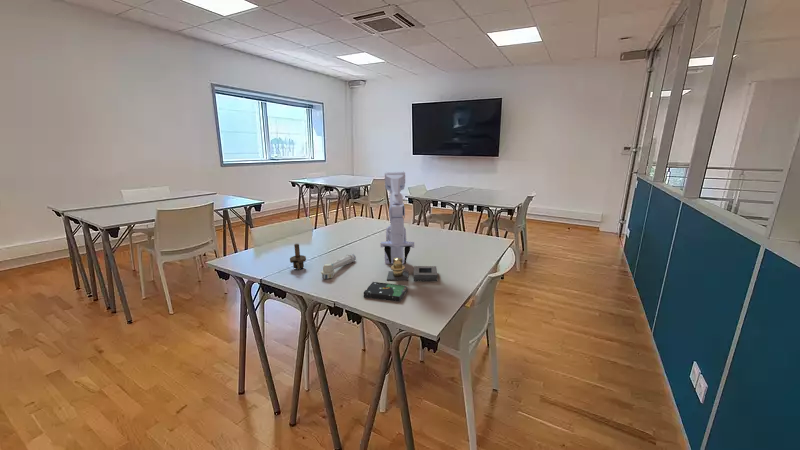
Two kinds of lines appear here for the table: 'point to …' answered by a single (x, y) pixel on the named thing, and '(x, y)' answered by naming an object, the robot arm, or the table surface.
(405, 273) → the mat
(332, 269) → the toothbrush head
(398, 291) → the disk drive
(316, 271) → the table surface
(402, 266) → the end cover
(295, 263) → the industrial component
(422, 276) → the housing
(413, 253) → the table surface
